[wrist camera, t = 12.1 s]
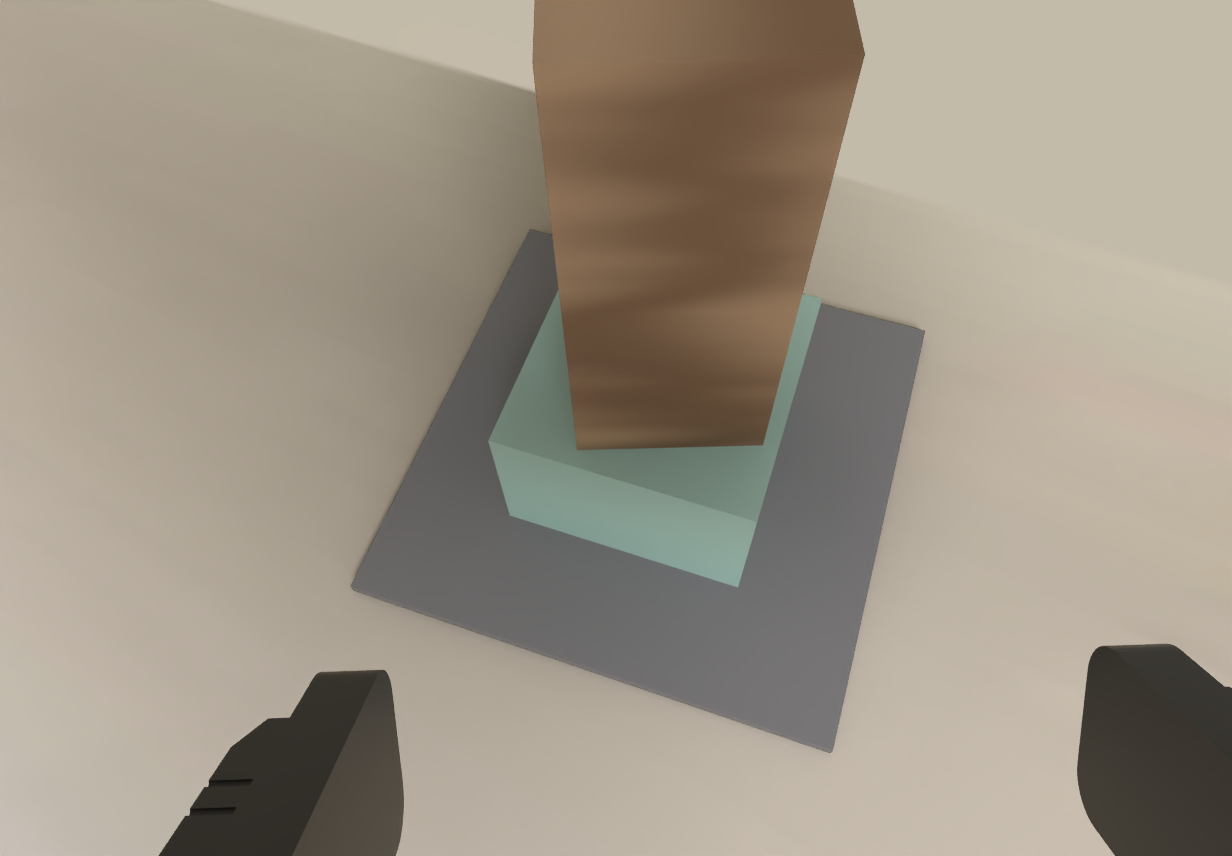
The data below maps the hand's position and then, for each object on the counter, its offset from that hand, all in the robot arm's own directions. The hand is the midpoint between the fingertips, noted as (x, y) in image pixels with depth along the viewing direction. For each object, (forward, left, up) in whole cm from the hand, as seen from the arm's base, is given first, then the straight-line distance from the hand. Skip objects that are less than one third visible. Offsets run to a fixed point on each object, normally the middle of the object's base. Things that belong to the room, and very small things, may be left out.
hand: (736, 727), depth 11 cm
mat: (-3, +9, -11) cm, 14 cm away
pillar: (-3, +9, -7) cm, 11 cm away
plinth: (-3, +9, -11) cm, 14 cm away
